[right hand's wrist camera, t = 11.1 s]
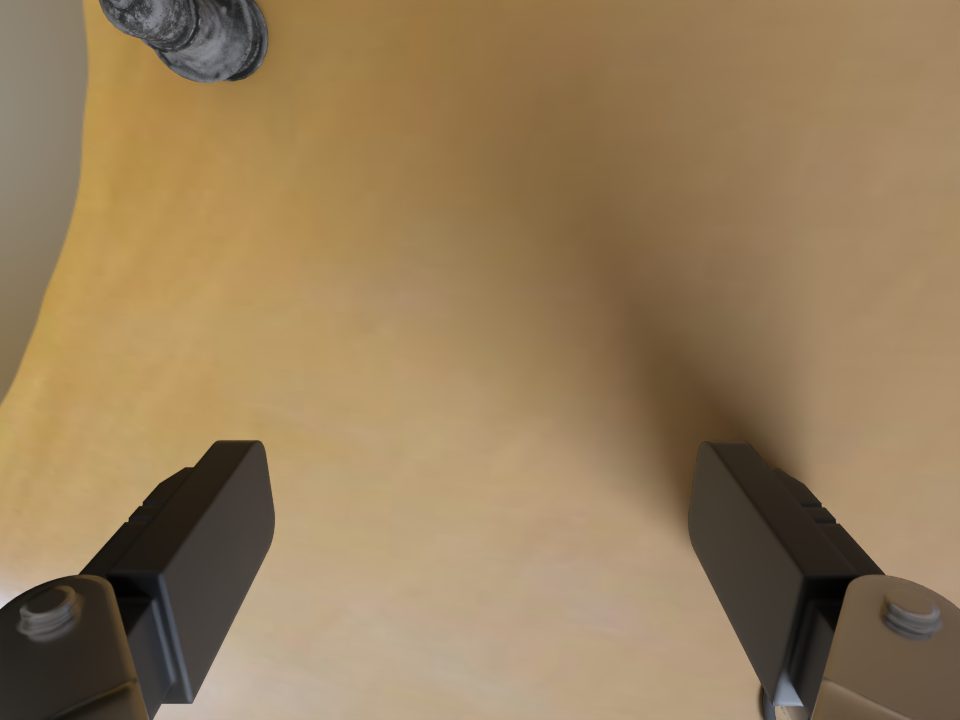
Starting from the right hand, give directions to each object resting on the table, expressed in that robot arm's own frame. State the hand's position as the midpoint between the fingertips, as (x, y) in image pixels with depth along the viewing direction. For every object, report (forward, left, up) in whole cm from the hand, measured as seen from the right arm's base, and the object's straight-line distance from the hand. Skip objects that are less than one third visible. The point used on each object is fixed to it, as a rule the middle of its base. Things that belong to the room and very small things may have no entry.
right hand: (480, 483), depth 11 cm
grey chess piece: (+16, +10, -31) cm, 37 cm away
